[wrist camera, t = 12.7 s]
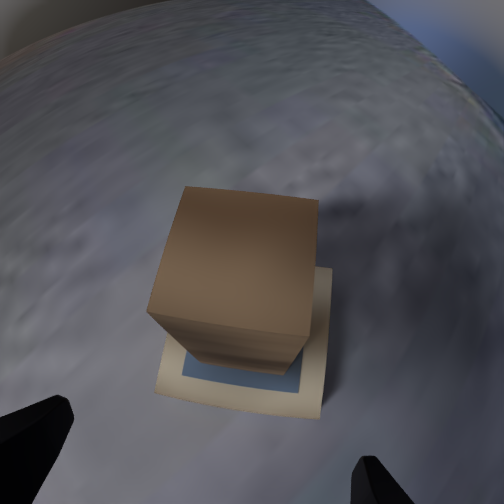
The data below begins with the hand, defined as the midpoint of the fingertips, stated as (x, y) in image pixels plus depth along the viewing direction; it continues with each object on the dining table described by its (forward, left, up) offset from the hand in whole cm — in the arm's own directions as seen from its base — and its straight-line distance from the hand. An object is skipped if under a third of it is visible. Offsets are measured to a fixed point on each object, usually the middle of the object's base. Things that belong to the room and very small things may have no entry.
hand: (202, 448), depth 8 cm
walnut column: (+5, +4, -10) cm, 12 cm away
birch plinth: (+5, +4, -13) cm, 14 cm away
